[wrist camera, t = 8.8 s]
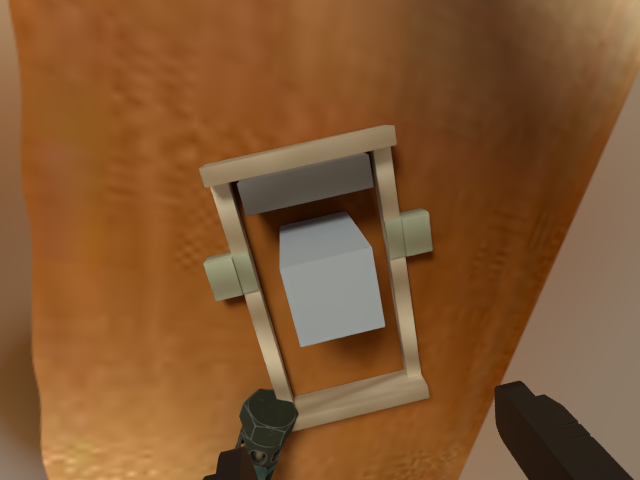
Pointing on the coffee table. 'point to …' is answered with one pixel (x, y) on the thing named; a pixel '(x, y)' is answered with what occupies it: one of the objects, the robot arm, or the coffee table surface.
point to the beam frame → (301, 187)
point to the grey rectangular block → (329, 278)
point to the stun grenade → (265, 429)
